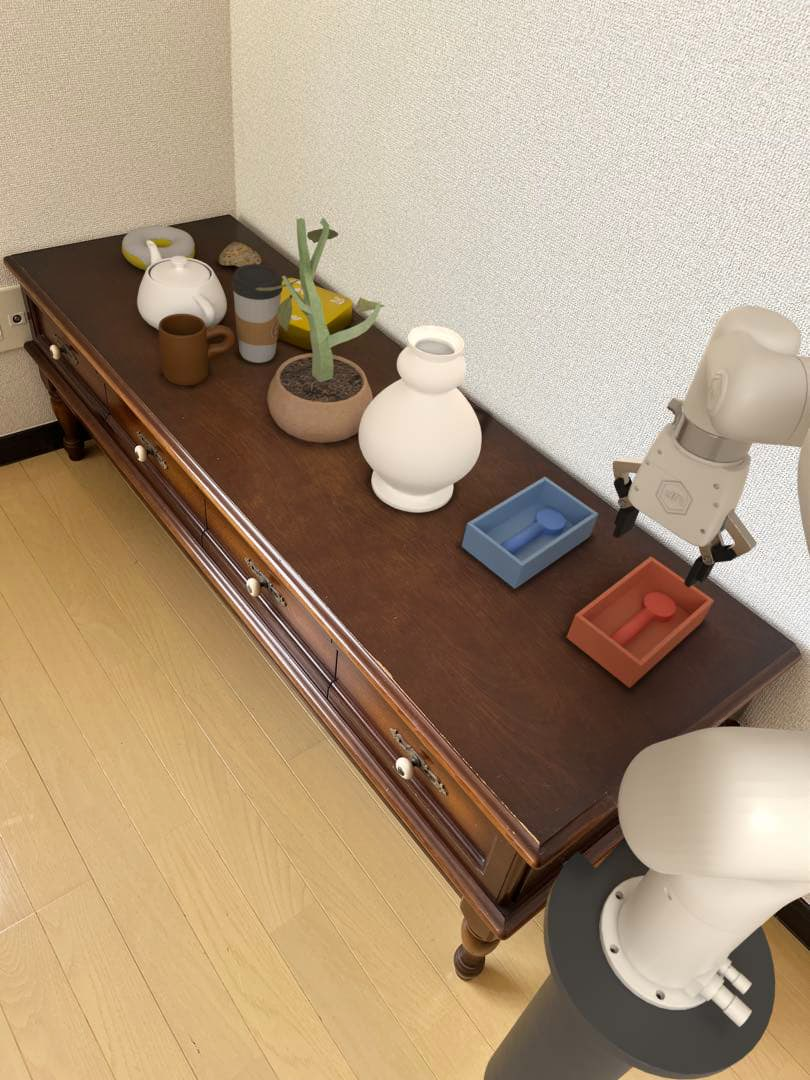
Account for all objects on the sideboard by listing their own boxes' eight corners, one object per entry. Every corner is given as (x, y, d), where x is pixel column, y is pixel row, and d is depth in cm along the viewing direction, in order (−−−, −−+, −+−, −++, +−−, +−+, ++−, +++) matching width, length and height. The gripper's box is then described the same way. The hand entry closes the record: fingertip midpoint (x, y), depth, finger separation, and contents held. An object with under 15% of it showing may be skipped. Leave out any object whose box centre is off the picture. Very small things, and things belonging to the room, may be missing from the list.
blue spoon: (507, 569, 113) (510, 559, 112) (484, 551, 115) (486, 541, 114) (569, 527, 121) (573, 517, 120) (546, 510, 123) (550, 501, 122)
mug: (234, 361, 143) (232, 312, 136) (237, 386, 138) (235, 337, 131) (162, 362, 140) (157, 312, 133) (162, 387, 135) (157, 337, 128)
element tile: (244, 326, 151) (244, 302, 148) (289, 295, 161) (289, 272, 158) (313, 354, 147) (315, 330, 144) (355, 320, 158) (357, 297, 154)
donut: (183, 241, 172) (181, 218, 169) (206, 272, 164) (204, 248, 161) (115, 249, 166) (112, 225, 163) (135, 281, 158) (133, 256, 155)
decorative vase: (390, 538, 116) (413, 390, 98) (333, 464, 126) (344, 318, 109) (492, 505, 124) (529, 362, 106) (430, 437, 134) (455, 297, 116)
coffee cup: (273, 370, 142) (274, 291, 132) (227, 361, 142) (224, 280, 132) (287, 346, 148) (288, 268, 138) (242, 337, 148) (240, 258, 138)
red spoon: (619, 664, 104) (623, 654, 102) (591, 642, 106) (596, 633, 104) (679, 612, 112) (684, 602, 110) (652, 592, 114) (657, 583, 112)
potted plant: (396, 427, 135) (420, 253, 114) (304, 461, 126) (311, 279, 105) (320, 360, 146) (329, 191, 125) (230, 387, 137) (224, 209, 116)
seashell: (247, 268, 162) (217, 241, 162) (238, 289, 167) (209, 262, 167) (272, 255, 168) (243, 228, 168) (263, 275, 172) (235, 249, 172)
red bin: (640, 578, 116) (650, 556, 113) (701, 622, 111) (714, 600, 108) (565, 637, 107) (575, 614, 103) (629, 688, 102) (641, 666, 99)
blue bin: (537, 499, 126) (544, 476, 123) (589, 536, 121) (598, 513, 118) (461, 546, 116) (466, 523, 113) (514, 589, 112) (522, 566, 109)
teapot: (253, 343, 148) (252, 279, 139) (171, 363, 140) (166, 298, 131) (190, 281, 161) (186, 219, 152) (113, 296, 153) (104, 233, 145)
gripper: (620, 402, 83) (576, 527, 95) (774, 492, 75) (705, 617, 86) (661, 380, 87) (614, 502, 99) (810, 463, 79) (740, 586, 91)
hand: (656, 556), depth 93 cm, fingers open, 9 cm apart
